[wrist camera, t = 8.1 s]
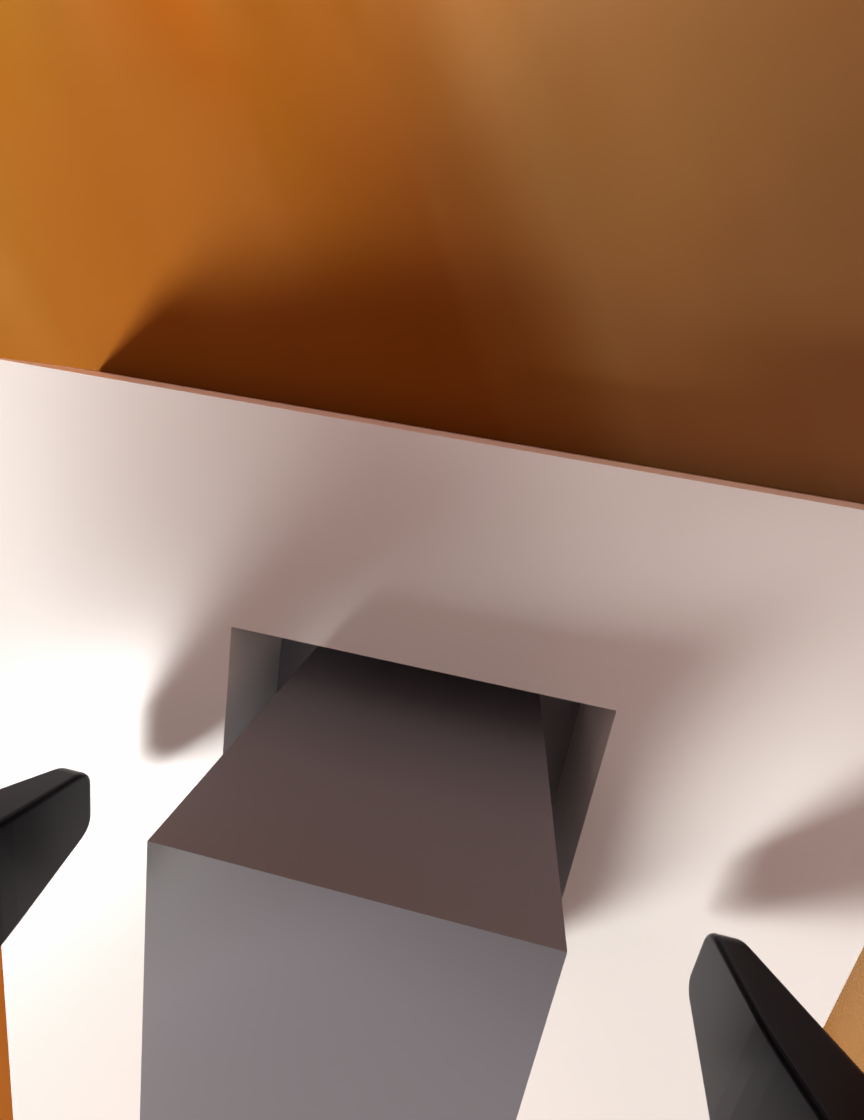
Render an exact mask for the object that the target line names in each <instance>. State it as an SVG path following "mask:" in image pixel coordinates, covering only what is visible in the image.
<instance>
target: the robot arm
mask: <svg viewBox="0 0 864 1120" xmlns="http://www.w3.org/2000/svg"><path fill="white" fill-rule="evenodd" d="M90 818H91V785H90V778H89V776H88V775H87V774H86V773H84V772H80V771H76V770H72V769H68V768H57V769H54V770H51V771H48V772H46V773H43V774H40V775H37V776H34V777H32V778H29V779H26V780H23V781H20V782H18V783H15V784H12V785H9V786H7V787H4V788H1V789H0V946H1V945H2V944H3V943H4V942H5V940H6V939H7V938H8V936H9V935H10V934H11V933H12V931H13V930H14V929H15V928H16V926H17V925H18V924H19V922H20V921H21V920H22V918H23V917H24V916H25V914H26V913H27V912H28V910H29V909H30V908H31V906H32V905H33V904H34V902H35V901H36V899H37V898H38V897H39V895H40V894H41V893H42V891H43V890H44V889H45V887H46V886H47V885H48V883H49V882H50V881H51V879H52V878H53V877H54V875H55V874H56V873H57V871H58V870H59V869H60V867H61V866H62V864H63V863H64V862H65V860H66V859H67V858H68V856H69V855H70V854H71V852H72V851H73V850H74V848H75V847H76V846H77V844H78V843H79V842H80V840H81V839H82V837H83V836H84V834H85V833H86V831H87V829H88V826H89V823H90ZM689 1000H690V1006H691V1012H692V1018H693V1024H694V1030H695V1036H696V1041H697V1047H698V1053H699V1059H700V1065H701V1071H702V1077H703V1083H704V1089H705V1095H706V1101H707V1107H708V1113H709V1119H710V1120H864V1073H863V1072H862V1071H861V1070H860V1069H859V1067H858V1066H857V1065H856V1064H855V1063H854V1062H853V1061H852V1060H851V1059H850V1058H849V1056H848V1055H847V1054H846V1053H845V1052H844V1051H843V1050H842V1049H841V1048H840V1047H839V1045H838V1044H837V1043H836V1042H835V1041H834V1040H833V1039H832V1038H831V1037H830V1036H829V1034H828V1033H827V1032H826V1031H825V1030H824V1029H823V1028H822V1027H821V1026H820V1025H819V1023H818V1022H817V1021H816V1020H815V1019H814V1018H813V1017H812V1016H811V1015H810V1013H809V1012H808V1011H807V1010H806V1009H805V1008H804V1007H803V1006H802V1005H801V1004H800V1002H799V1001H798V1000H797V999H796V998H795V997H794V996H793V995H792V994H791V993H790V991H789V990H788V989H787V988H786V987H785V986H784V985H783V984H782V983H781V982H780V980H779V979H778V978H777V977H776V976H775V975H774V974H773V973H772V972H771V971H770V969H769V968H768V967H767V966H766V965H765V964H764V963H763V962H762V961H761V959H760V958H759V957H758V956H757V955H756V954H755V953H754V952H753V951H752V950H751V948H750V947H749V946H748V945H747V944H745V943H744V942H743V941H741V940H739V939H736V938H732V937H729V936H725V935H721V934H717V933H710V934H708V935H707V936H706V938H705V940H704V942H703V944H702V947H701V949H700V952H699V955H698V957H697V960H696V962H695V965H694V967H693V970H692V972H691V975H690V980H689Z"/></svg>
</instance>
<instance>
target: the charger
mask: <svg viewBox="0 0 864 1120" xmlns="http://www.w3.org/2000/svg"><path fill="white" fill-rule="evenodd" d="M566 955H567V945H566V935H565V926H564V917H563V908H562V898H561V889H560V880H559V871H558V861H557V852H556V843H555V834H554V825H553V815H552V806H551V797H550V788H549V778H548V769H547V760H546V751H545V741H544V732H543V723H542V714H541V704H540V695H539V694H537V693H533V692H528V691H524V690H519V689H514V688H510V687H505V686H501V685H496V684H492V683H487V682H482V681H478V680H473V679H469V678H464V677H459V676H455V675H450V674H446V673H441V672H436V671H432V670H427V669H423V668H418V667H414V666H409V665H404V664H400V663H395V662H391V661H386V660H381V659H377V658H372V657H368V656H363V655H358V654H354V653H349V652H345V651H340V650H336V649H331V648H326V647H322V646H318V647H317V648H316V649H315V650H314V651H313V652H312V653H311V655H310V656H309V657H308V658H307V659H306V660H305V661H304V663H303V664H302V665H301V666H300V667H299V668H298V669H297V671H296V672H295V673H294V674H293V675H292V676H291V677H290V679H289V680H288V681H287V682H286V683H285V684H284V685H283V687H282V688H281V689H280V690H279V691H278V692H277V693H276V694H275V696H274V697H273V698H272V699H271V700H270V701H269V702H268V704H267V705H266V706H265V707H264V708H263V709H262V710H261V712H260V713H259V714H258V715H257V716H256V717H255V718H254V720H253V721H252V722H251V723H250V724H249V725H248V726H247V728H246V729H245V730H244V731H243V732H242V733H241V734H240V736H239V737H238V738H237V739H236V740H235V741H234V742H233V744H232V745H231V746H230V747H229V748H228V749H227V750H226V752H225V753H224V754H223V755H222V756H221V757H220V758H219V760H218V761H217V762H216V763H215V764H214V765H213V766H212V768H211V769H210V770H209V771H208V772H207V773H206V774H205V776H204V777H203V778H202V779H201V780H200V781H199V782H198V784H197V785H196V786H195V787H194V788H193V789H192V790H191V792H190V793H189V794H188V795H187V796H186V797H185V798H184V800H183V801H182V802H181V803H180V804H179V805H178V806H177V808H176V809H175V810H174V811H173V812H172V813H171V814H170V816H169V817H168V818H167V819H166V820H165V821H164V822H163V824H162V825H161V826H160V827H159V828H158V829H157V830H156V832H155V833H154V834H153V835H152V836H151V837H150V838H149V840H148V841H147V869H146V906H145V944H144V981H143V1019H142V1056H141V1093H140V1120H516V1118H517V1115H518V1112H519V1109H520V1105H521V1102H522V1099H523V1096H524V1092H525V1089H526V1086H527V1082H528V1079H529V1076H530V1073H531V1069H532V1066H533V1063H534V1060H535V1056H536V1053H537V1050H538V1046H539V1043H540V1040H541V1037H542V1033H543V1030H544V1027H545V1024H546V1020H547V1017H548V1014H549V1010H550V1007H551V1004H552V1001H553V997H554V994H555V991H556V988H557V984H558V981H559V978H560V975H561V971H562V968H563V965H564V961H565V958H566Z"/></svg>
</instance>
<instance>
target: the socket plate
mask: <svg viewBox="0 0 864 1120" xmlns="http://www.w3.org/2000/svg"><path fill="white" fill-rule="evenodd" d="M318 646H322V647H326V648H331V649H336V650H340V651H345V652H349V653H354V654H358V655H363V656H368V657H372V658H377V659H381V660H386V661H391V662H395V663H400V664H404V665H409V666H414V667H418V668H423V669H427V670H432V671H436V672H441V673H446V674H450V675H455V676H459V677H464V678H469V679H473V680H478V681H482V682H487V683H492V684H496V685H501V686H505V687H510V688H514V689H519V690H524V691H528V692H533V693H537V694H539V695H540V704H541V714H542V723H543V732H544V741H545V751H546V760H547V769H548V778H549V788H550V797H551V806H552V815H553V825H554V834H555V843H556V852H557V861H558V871H559V880H560V889H561V898H562V908H563V917H564V926H565V935H566V945H567V955H566V958H565V961H564V965H563V968H562V971H561V975H560V978H559V981H558V984H557V988H556V991H555V994H554V997H553V1001H552V1004H551V1007H550V1010H549V1014H548V1017H547V1020H546V1024H545V1027H544V1030H543V1033H542V1037H541V1040H540V1043H539V1046H538V1050H537V1053H536V1056H535V1060H534V1063H533V1066H532V1069H531V1073H530V1076H529V1079H528V1082H527V1086H526V1089H525V1092H524V1096H523V1099H522V1102H521V1105H520V1109H519V1112H518V1115H517V1118H516V1120H710V1119H709V1113H708V1107H707V1101H706V1095H705V1089H704V1083H703V1077H702V1071H701V1065H700V1059H699V1053H698V1047H697V1041H696V1036H695V1030H694V1024H693V1018H692V1012H691V1006H690V1000H689V980H690V975H691V972H692V970H693V967H694V965H695V962H696V960H697V957H698V955H699V952H700V949H701V947H702V944H703V942H704V940H705V938H706V936H707V935H708V934H710V933H717V934H721V935H725V936H729V937H732V938H736V939H739V940H741V941H743V942H744V943H745V944H747V945H748V946H749V947H750V948H751V950H752V951H753V952H754V953H755V954H756V955H757V956H758V957H759V958H760V959H761V961H762V962H763V963H764V964H765V965H766V966H767V967H768V968H769V969H770V971H771V972H772V973H773V974H774V975H775V976H776V977H777V978H778V979H779V980H780V982H781V983H782V984H783V985H784V986H785V987H786V988H787V989H788V990H789V991H790V993H791V994H792V995H793V996H794V997H795V998H796V999H797V1000H798V1001H799V1002H800V1004H801V1005H802V1006H803V1007H804V1008H805V1009H806V1010H807V1011H808V1012H809V1013H810V1015H811V1016H812V1017H813V1018H814V1019H815V1020H816V1021H817V1022H818V1023H819V1025H820V1026H821V1027H822V1028H823V1027H824V1025H825V1023H826V1021H827V1019H828V1017H829V1015H830V1013H831V1011H832V1009H833V1007H834V1005H835V1003H836V1001H837V999H838V997H839V995H840V993H841V991H842V989H843V987H844V985H845V983H846V981H847V979H848V977H849V975H850V973H851V971H852V969H853V967H854V965H855V963H856V961H857V959H858V957H859V955H860V953H861V951H862V949H863V947H864V504H862V503H857V502H851V501H845V500H839V499H833V498H828V497H822V496H816V495H810V494H805V493H799V492H793V491H787V490H782V489H776V488H770V487H764V486H758V485H753V484H747V483H741V482H735V481H730V480H724V479H718V478H712V477H707V476H701V475H695V474H689V473H683V472H678V471H672V470H666V469H660V468H655V467H649V466H643V465H637V464H631V463H626V462H620V461H614V460H608V459H603V458H597V457H591V456H585V455H580V454H574V453H568V452H562V451H556V450H551V449H545V448H539V447H533V446H528V445H522V444H516V443H510V442H505V441H499V440H493V439H487V438H481V437H476V436H470V435H464V434H458V433H453V432H447V431H441V430H435V429H430V428H424V427H418V426H412V425H406V424H401V423H395V422H389V421H383V420H378V419H372V418H366V417H360V416H355V415H349V414H343V413H337V412H331V411H326V410H320V409H314V408H308V407H303V406H297V405H291V404H285V403H280V402H274V401H268V400H262V399H256V398H251V397H245V396H239V395H233V394H228V393H222V392H216V391H210V390H205V389H199V388H193V387H187V386H181V385H176V384H170V383H164V382H158V381H153V380H147V379H141V378H135V377H129V376H124V375H118V374H112V373H106V372H101V371H95V370H87V369H80V368H72V367H65V366H57V365H50V364H42V363H35V362H27V361H20V360H12V359H5V358H0V789H1V788H4V787H7V786H9V785H12V784H15V783H18V782H20V781H23V780H26V779H29V778H32V777H34V776H37V775H40V774H43V773H46V772H48V771H51V770H54V769H57V768H68V769H72V770H76V771H80V772H84V773H86V774H87V775H88V776H89V778H90V785H91V818H90V823H89V826H88V829H87V831H86V833H85V834H84V836H83V837H82V839H81V840H80V842H79V843H78V844H77V846H76V847H75V848H74V850H73V851H72V852H71V854H70V855H69V856H68V858H67V859H66V860H65V862H64V863H63V864H62V866H61V867H60V869H59V870H58V871H57V873H56V874H55V875H54V877H53V878H52V879H51V881H50V882H49V883H48V885H47V886H46V887H45V889H44V890H43V891H42V893H41V894H40V895H39V897H38V898H37V899H36V901H35V902H34V904H33V905H32V906H31V908H30V909H29V910H28V912H27V913H26V914H25V916H24V917H23V918H22V920H21V921H20V922H19V924H18V925H17V926H16V928H15V929H14V930H13V931H12V933H11V934H10V935H9V936H8V938H7V939H6V940H5V942H4V943H3V944H2V945H1V947H2V961H3V976H4V990H5V1005H6V1019H7V1034H8V1048H9V1063H10V1077H11V1092H12V1106H13V1120H140V1093H141V1056H142V1019H143V981H144V944H145V906H146V869H147V841H148V840H149V838H150V837H151V836H152V835H153V834H154V833H155V832H156V830H157V829H158V828H159V827H160V826H161V825H162V824H163V822H164V821H165V820H166V819H167V818H168V817H169V816H170V814H171V813H172V812H173V811H174V810H175V809H176V808H177V806H178V805H179V804H180V803H181V802H182V801H183V800H184V798H185V797H186V796H187V795H188V794H189V793H190V792H191V790H192V789H193V788H194V787H195V786H196V785H197V784H198V782H199V781H200V780H201V779H202V778H203V777H204V776H205V774H206V773H207V772H208V771H209V770H210V769H211V768H212V766H213V765H214V764H215V763H216V762H217V761H218V760H219V758H220V757H221V756H222V755H223V754H224V753H225V752H226V750H227V749H228V748H229V747H230V746H231V745H232V744H233V742H234V741H235V740H236V739H237V738H238V737H239V736H240V734H241V733H242V732H243V731H244V730H245V729H246V728H247V726H248V725H249V724H250V723H251V722H252V721H253V720H254V718H255V717H256V716H257V715H258V714H259V713H260V712H261V710H262V709H263V708H264V707H265V706H266V705H267V704H268V702H269V701H270V700H271V699H272V698H273V697H274V696H275V694H276V693H277V692H278V691H279V690H280V689H281V688H282V687H283V685H284V684H285V683H286V682H287V681H288V680H289V679H290V677H291V676H292V675H293V674H294V673H295V672H296V671H297V669H298V668H299V667H300V666H301V665H302V664H303V663H304V661H305V660H306V659H307V658H308V657H309V656H310V655H311V653H312V652H313V651H314V650H315V649H316V648H317V647H318Z"/></svg>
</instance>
